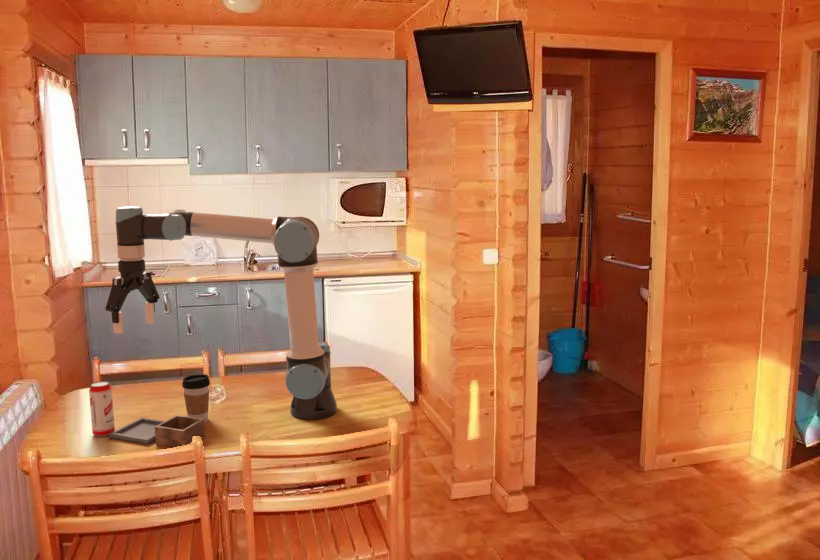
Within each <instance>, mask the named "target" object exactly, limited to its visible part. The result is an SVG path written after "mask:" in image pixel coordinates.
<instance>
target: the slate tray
mask: <svg viewBox="0 0 820 560" xmlns="http://www.w3.org/2000/svg"><path fill="white" fill-rule="evenodd" d="M164 421H165V420H162V419H160V420H159V419H155V418H148V417H140V418H137V419H136V420H134V421H132V422H130V423H128V424H126V425H124V426H121V427H119V428H118V429H115V431H113V432H111V433H109V436H108V437H109V440H110V441H111V440H117V441H123V442H127V443H128V442H130V443H135V444H139V445H140V444H141V445H146V446H149V445H151V444H153V443H154V442H156V440H155V426H157V425H159V424H160V423H162V422H164Z"/></svg>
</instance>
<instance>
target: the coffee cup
mask: <svg viewBox="0 0 820 560" xmlns="http://www.w3.org/2000/svg"><path fill="white" fill-rule="evenodd" d="M210 385H211V383H210V377H209V375H208V374H191V375H187V376H185V377H183V378H182V383H181V387H182V388H183V396H184V402H185V408H186V409H185V410H186V414H187V417H194V418H201V419H205V423H207V422H208V421H209V405H210V404H209V403H210V400H209V399H210V389H209V386H210Z"/></svg>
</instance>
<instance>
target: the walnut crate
mask: <svg viewBox="0 0 820 560" xmlns="http://www.w3.org/2000/svg"><path fill="white" fill-rule="evenodd" d="M163 421H164V422H162V423H160V424H159V425H157V426H155V440H156V441H155V445H156V446H161V447H166V448H167V447H168V448H173V447H177V446H182V445H187V444H190V443H191V442H192V437H193V436H200V437H202V439H204V438H206V425H205V424H206V422H205V419H201V418H194V417H188V415H187V416H185V415H180V414H176V415H174V416H172V417H170V418H168V419H167V420H163ZM181 429H182V430H181Z"/></svg>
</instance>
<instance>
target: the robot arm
mask: <svg viewBox="0 0 820 560" xmlns="http://www.w3.org/2000/svg"><path fill="white" fill-rule="evenodd" d="M114 223H115V230H116V231H115V232H116V233H115V234H116V246H117V247H116V248H117V258H118V259H119V260H118V261H117V267H118V268H117V269H118V273H120V277H119V278H118V277H112V281H111V282H112V285H111V289H110V292H109V296H108V298H107V302H106V304H105V305H106V306H105V311H106V312H110V313H111V321H112V322H111V323H112V324H113V334H118V335H122V334H124V326H123V312H122V311H121V309H122V307H123V305H124V303H125V301H126V300H127V299H126V298H127V297H128V295H129V294H130V293H131V292H132V291H135V290H137V291H138V292H139V293H140V295H142V297H143V298H144V300H145V302H144V309H145V311H144V313H145V323H146V324H150V325H154V324H155V323H156V322H155V321H156V320H155V311H156V308H155V306H156V305H155V303H156V304H157V303H158V301H159V299H160V294H159V292H158V290H157V287H156V286H155V283H154V281H153V277H152V273H151V271H146V260H145V257H146V255H145V253H146V251H145V240H160V241H161V240H165V241H170V242H171V241H178V240H179V241H181V240H183V239H184V237H200V238H211V239H223V240H232V241H244V242H251V243H252V242H254V243H263V244H264V243H265V244H272V245H273V246H274V247H273V248H274V249H275V250H274V251H275V252H276V254H277V261H278V268H280V269H281V270H282V271H283V274H284V286H285V296H286V299H285V300H286V308H287V319H288V321H287V322H288V332H289V335H288V336H289V343H290V344H289V347H290V348H289V350H288V351H287V352H286V353H285V359H286V370H287V372H286V373H285V374H286V375H285V379H284V380H285V386H286V389H287V391H288V392H289V393H290V394H291V396H293V397H292V399H291V400H292V401H291V403H290V408H289V409H290V414H291V416H292V417H295V418H297V419H301V420H320V419H325V418H330V417H331V416H333V415H336V413H337V411H338V408H337V407H338V405H337V401H336V399H335V398H336V397H335V395H334V392H333V390H332V377H331V376H332V372H331V354H332V352H331V347H330V345H329V344H328V343H326V342H319V331H318V330H319V329H318V318H317V317H318V315H317V304H316V303H317V302H316V291H315V289H316V287H315V277H314V276H315V275H314V268H315V267H317V265H318V263H319V261H318V260H319V259H318V249H317V246H318V244H319V242H320V232H319V228H318V227H317V224H316V223H315V222H314V221H313V220H312V219H310V218H308V217H304V216H277V217H275V218H264V217H263V218H261V217H252V216H243V215H242V216H241V215H240V216H239V215H231V214H230V215H229V214H219V213H217V214H216V213H207V212H197V211H187V210H185V209H175V210H172V211H170V212H166V213H161V214H160V213H159V214H158V213H157V214H155V213H152V214H151V213H144V210H143V208H142V207H141V206H120V207H117V208H116V210H115V222H114Z"/></svg>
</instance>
